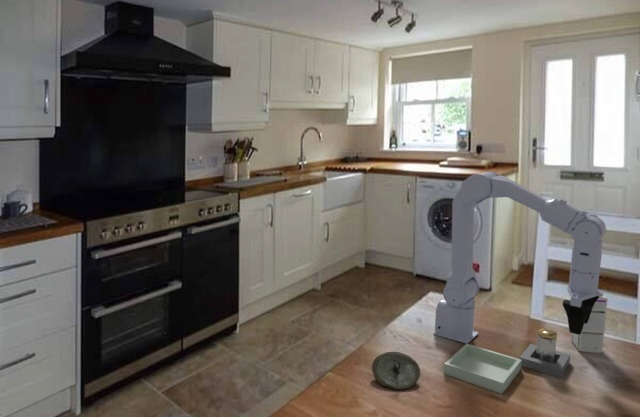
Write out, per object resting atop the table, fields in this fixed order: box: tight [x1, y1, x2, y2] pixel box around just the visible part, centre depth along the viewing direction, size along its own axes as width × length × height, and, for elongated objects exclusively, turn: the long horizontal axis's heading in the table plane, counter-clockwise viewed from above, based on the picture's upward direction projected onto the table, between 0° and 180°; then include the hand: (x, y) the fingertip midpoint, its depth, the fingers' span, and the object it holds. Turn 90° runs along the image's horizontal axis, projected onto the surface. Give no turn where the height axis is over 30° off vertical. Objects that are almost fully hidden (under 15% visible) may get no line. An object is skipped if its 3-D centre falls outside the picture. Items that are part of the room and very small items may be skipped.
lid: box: [371, 351, 421, 391], centre depth 106 cm, size 11×10×5 cm
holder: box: [519, 343, 571, 379], centre depth 113 cm, size 9×9×2 cm
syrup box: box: [571, 294, 608, 354], centre depth 121 cm, size 6×6×14 cm
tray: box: [443, 343, 522, 395], centre depth 109 cm, size 13×13×2 cm
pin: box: [535, 328, 558, 364], centre depth 112 cm, size 4×4×8 cm
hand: (578, 327), depth 109 cm, fingers open, 7 cm apart
